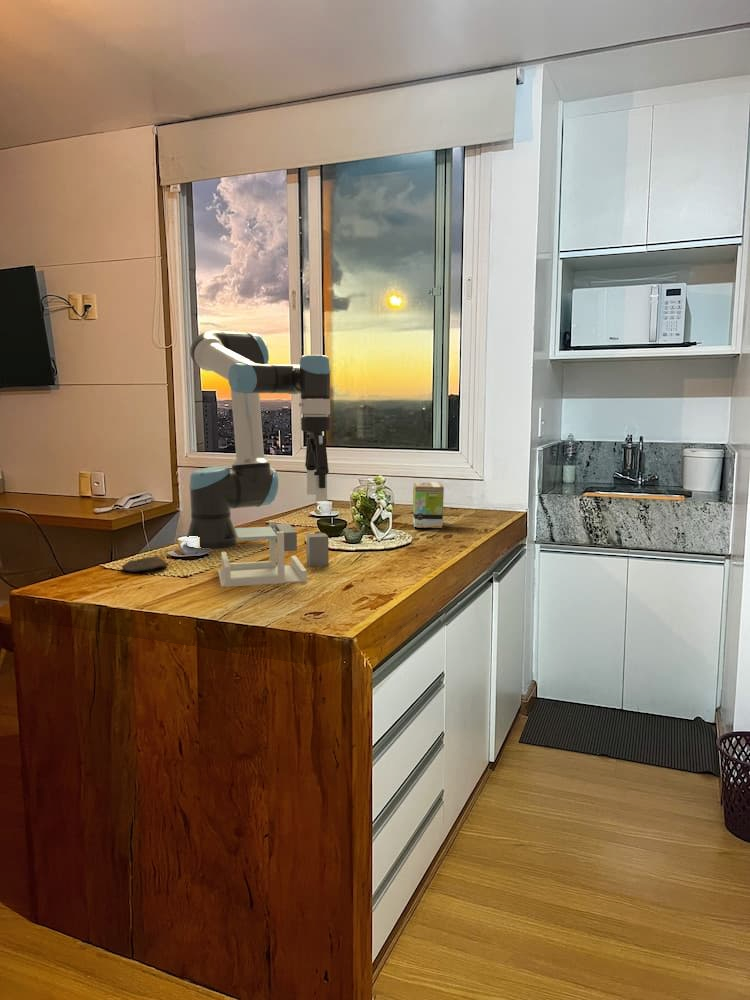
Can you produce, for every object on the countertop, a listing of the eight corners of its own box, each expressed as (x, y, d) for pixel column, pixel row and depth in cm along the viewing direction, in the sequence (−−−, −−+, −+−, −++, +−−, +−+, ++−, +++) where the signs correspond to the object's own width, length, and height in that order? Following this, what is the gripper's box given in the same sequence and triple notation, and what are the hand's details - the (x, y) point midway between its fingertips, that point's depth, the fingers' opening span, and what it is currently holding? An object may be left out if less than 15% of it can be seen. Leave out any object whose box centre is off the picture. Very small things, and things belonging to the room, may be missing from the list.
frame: (217, 571, 185) (216, 523, 183) (295, 566, 190) (295, 519, 188) (221, 588, 168) (219, 535, 166) (306, 582, 173) (306, 531, 171)
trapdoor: (235, 543, 183) (234, 525, 182) (289, 540, 186) (288, 523, 185) (239, 553, 170) (238, 534, 170) (296, 550, 174) (296, 532, 173)
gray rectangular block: (306, 563, 194) (306, 533, 193) (324, 562, 195) (324, 533, 194) (309, 567, 189) (309, 537, 188) (328, 566, 191) (328, 536, 190)
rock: (129, 574, 178) (128, 564, 178) (117, 569, 188) (116, 559, 188) (173, 568, 184) (172, 557, 184) (160, 563, 194) (159, 553, 194)
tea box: (443, 529, 245) (444, 486, 243) (413, 529, 245) (414, 486, 243) (440, 522, 260) (440, 481, 258) (412, 522, 260) (412, 481, 258)
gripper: (294, 415, 198) (295, 492, 201) (309, 416, 174) (310, 504, 177) (321, 415, 200) (322, 491, 203) (339, 416, 176) (340, 503, 179)
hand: (316, 497), depth 190 cm, fingers open, 13 cm apart
